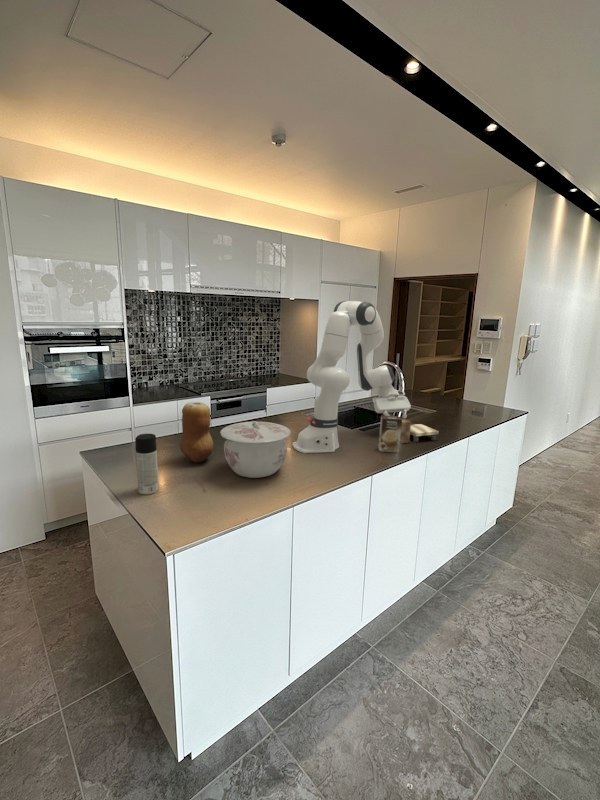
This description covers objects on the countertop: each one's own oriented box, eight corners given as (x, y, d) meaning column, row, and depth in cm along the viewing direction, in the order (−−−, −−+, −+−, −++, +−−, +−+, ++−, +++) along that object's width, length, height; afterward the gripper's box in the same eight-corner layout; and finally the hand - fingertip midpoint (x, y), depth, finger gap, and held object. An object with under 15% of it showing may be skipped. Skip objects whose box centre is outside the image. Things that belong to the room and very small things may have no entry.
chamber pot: (264, 492, 136) (265, 436, 131) (205, 475, 149) (204, 423, 144) (303, 466, 160) (304, 418, 155) (249, 454, 172) (249, 409, 168)
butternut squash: (220, 459, 165) (219, 402, 160) (197, 469, 154) (195, 408, 149) (196, 452, 172) (194, 398, 167) (173, 462, 161) (170, 403, 155)
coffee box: (379, 451, 180) (381, 418, 177) (378, 447, 186) (380, 415, 183) (399, 452, 179) (402, 419, 176) (397, 448, 186) (400, 416, 182)
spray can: (161, 486, 138) (158, 433, 134) (155, 495, 131) (151, 439, 127) (142, 486, 138) (139, 432, 133) (135, 495, 131) (131, 439, 127)
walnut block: (400, 443, 193) (402, 422, 190) (394, 440, 197) (396, 419, 195) (409, 442, 195) (411, 421, 192) (403, 439, 199) (405, 419, 197)
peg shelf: (415, 443, 194) (416, 433, 193) (398, 434, 207) (399, 425, 206) (437, 440, 199) (438, 431, 198) (420, 432, 212) (421, 423, 211)
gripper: (373, 393, 199) (382, 416, 193) (406, 391, 207) (416, 413, 200) (368, 400, 204) (377, 422, 198) (401, 398, 212) (410, 420, 205)
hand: (397, 418), depth 199 cm, fingers open, 8 cm apart
